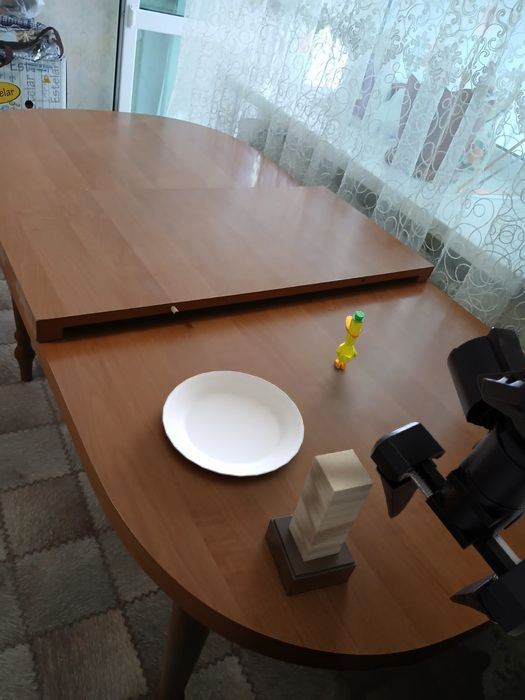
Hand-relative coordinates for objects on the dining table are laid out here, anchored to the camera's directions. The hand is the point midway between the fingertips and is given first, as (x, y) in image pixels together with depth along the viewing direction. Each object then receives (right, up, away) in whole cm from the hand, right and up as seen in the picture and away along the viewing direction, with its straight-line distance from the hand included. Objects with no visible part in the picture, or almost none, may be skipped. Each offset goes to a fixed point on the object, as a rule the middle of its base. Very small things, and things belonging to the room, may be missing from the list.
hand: (422, 554), depth 54 cm
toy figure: (-2, +18, +44) cm, 48 cm away
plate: (-20, +9, +27) cm, 35 cm away
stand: (-11, -5, +12) cm, 17 cm away
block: (-10, -2, +10) cm, 14 cm away
